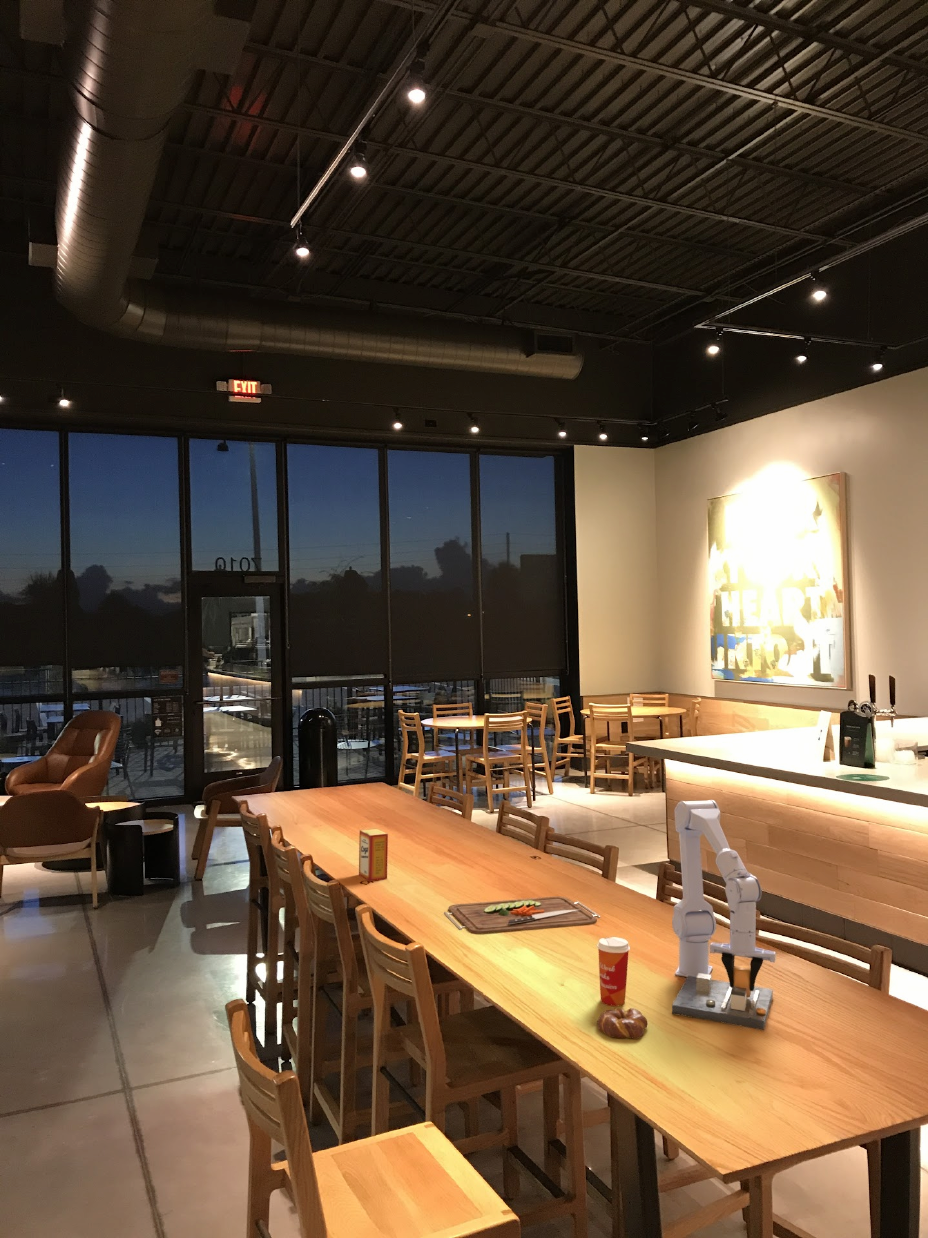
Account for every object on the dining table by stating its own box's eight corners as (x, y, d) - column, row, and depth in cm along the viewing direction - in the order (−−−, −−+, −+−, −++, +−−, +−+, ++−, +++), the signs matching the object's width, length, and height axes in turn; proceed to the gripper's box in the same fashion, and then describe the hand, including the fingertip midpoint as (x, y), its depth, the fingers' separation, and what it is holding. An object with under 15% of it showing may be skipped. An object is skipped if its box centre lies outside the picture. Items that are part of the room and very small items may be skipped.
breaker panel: (687, 983, 230) (688, 963, 230) (772, 997, 222) (772, 976, 222) (672, 1013, 212) (672, 991, 212) (763, 1030, 204) (764, 1007, 204)
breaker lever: (732, 1004, 213) (732, 986, 213) (746, 1006, 212) (746, 988, 212) (730, 1008, 210) (731, 990, 210) (744, 1011, 209) (744, 993, 209)
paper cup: (590, 997, 221) (591, 938, 221) (618, 993, 223) (619, 935, 224) (606, 1010, 213) (607, 949, 214) (635, 1006, 216) (636, 945, 216)
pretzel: (615, 1015, 212) (615, 998, 212) (658, 1028, 205) (658, 1011, 205) (586, 1031, 203) (586, 1014, 203) (630, 1046, 196) (630, 1028, 196)
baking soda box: (358, 875, 328) (359, 829, 328) (375, 872, 331) (376, 827, 331) (369, 881, 319) (370, 834, 320) (387, 879, 323) (387, 832, 323)
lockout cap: (734, 990, 219) (734, 964, 219) (751, 992, 217) (752, 967, 217) (731, 996, 215) (732, 970, 215) (749, 999, 214) (750, 972, 214)
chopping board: (571, 899, 303) (571, 890, 303) (608, 924, 278) (608, 914, 278) (438, 910, 290) (438, 900, 290) (465, 937, 264) (465, 926, 264)
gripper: (708, 929, 216) (707, 988, 216) (773, 939, 210) (773, 999, 210) (712, 921, 222) (712, 978, 222) (776, 930, 216) (775, 988, 216)
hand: (742, 988), depth 216 cm, fingers closed on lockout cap, 4 cm apart
